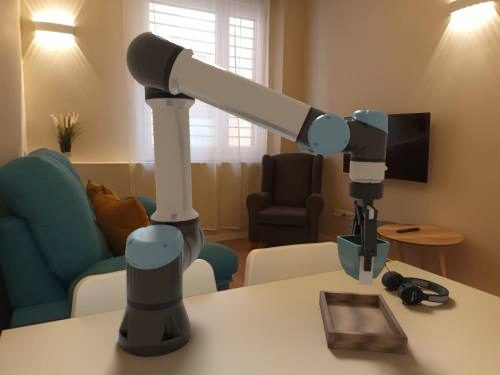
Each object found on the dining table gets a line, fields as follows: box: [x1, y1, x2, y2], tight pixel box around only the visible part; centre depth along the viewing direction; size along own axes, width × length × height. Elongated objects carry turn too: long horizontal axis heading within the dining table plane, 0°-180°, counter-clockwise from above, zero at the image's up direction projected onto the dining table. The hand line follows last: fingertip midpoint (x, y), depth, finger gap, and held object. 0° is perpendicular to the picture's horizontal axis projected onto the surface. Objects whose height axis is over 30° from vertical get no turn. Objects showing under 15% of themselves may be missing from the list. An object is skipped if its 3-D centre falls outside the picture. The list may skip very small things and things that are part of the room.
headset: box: [380, 263, 450, 306], centre depth 106 cm, size 14×10×20 cm
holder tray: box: [318, 289, 409, 355], centre depth 88 cm, size 16×22×4 cm
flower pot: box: [336, 234, 391, 281], centre depth 86 cm, size 9×9×9 cm
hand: (360, 275), depth 87 cm, fingers closed on flower pot, 10 cm apart
